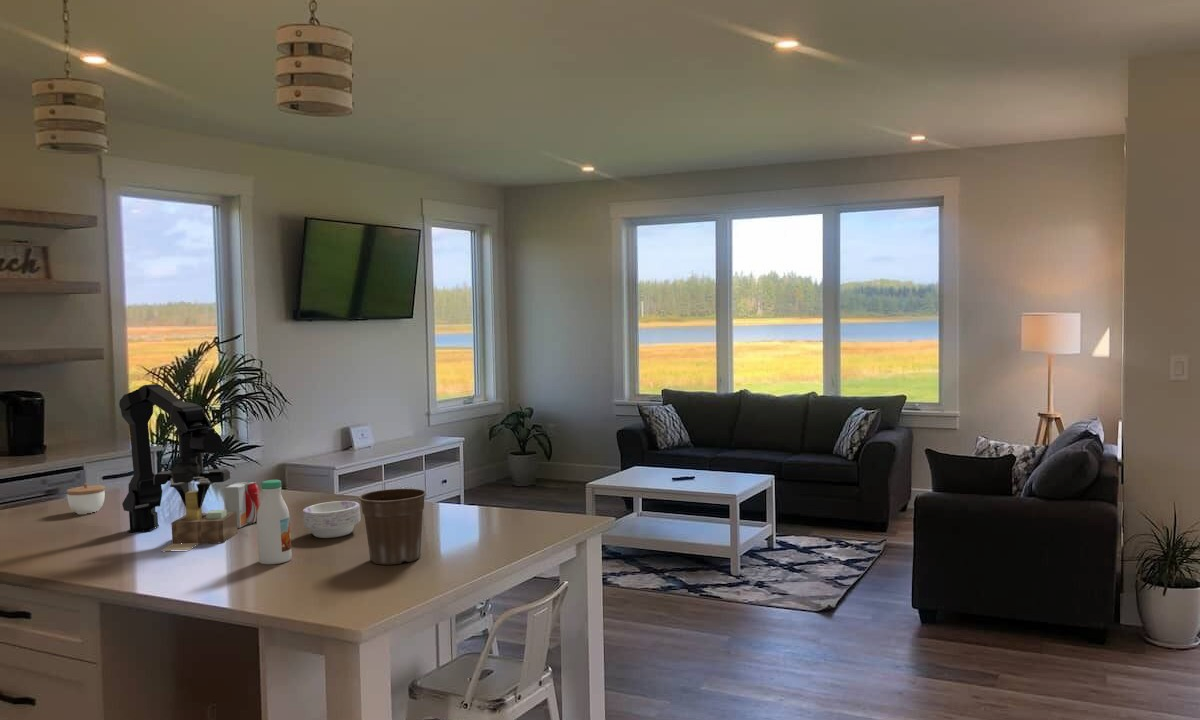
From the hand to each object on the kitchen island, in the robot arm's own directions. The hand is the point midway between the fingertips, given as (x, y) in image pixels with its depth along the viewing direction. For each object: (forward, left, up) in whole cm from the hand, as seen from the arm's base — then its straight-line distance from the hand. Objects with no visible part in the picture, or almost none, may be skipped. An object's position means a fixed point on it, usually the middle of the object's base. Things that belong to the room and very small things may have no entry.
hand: (193, 507), depth 255 cm
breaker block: (+3, 0, -9) cm, 9 cm away
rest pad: (0, -10, -9) cm, 13 cm away
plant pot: (+60, -30, -9) cm, 67 cm away
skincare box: (+7, +14, -9) cm, 18 cm away
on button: (+6, 0, -4) cm, 7 cm away
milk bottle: (+30, -27, -9) cm, 41 cm away
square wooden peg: (0, 0, -4) cm, 5 cm away
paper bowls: (+38, -1, -9) cm, 39 cm away
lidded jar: (-50, +44, -9) cm, 68 cm away
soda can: (+8, +18, -9) cm, 22 cm away
